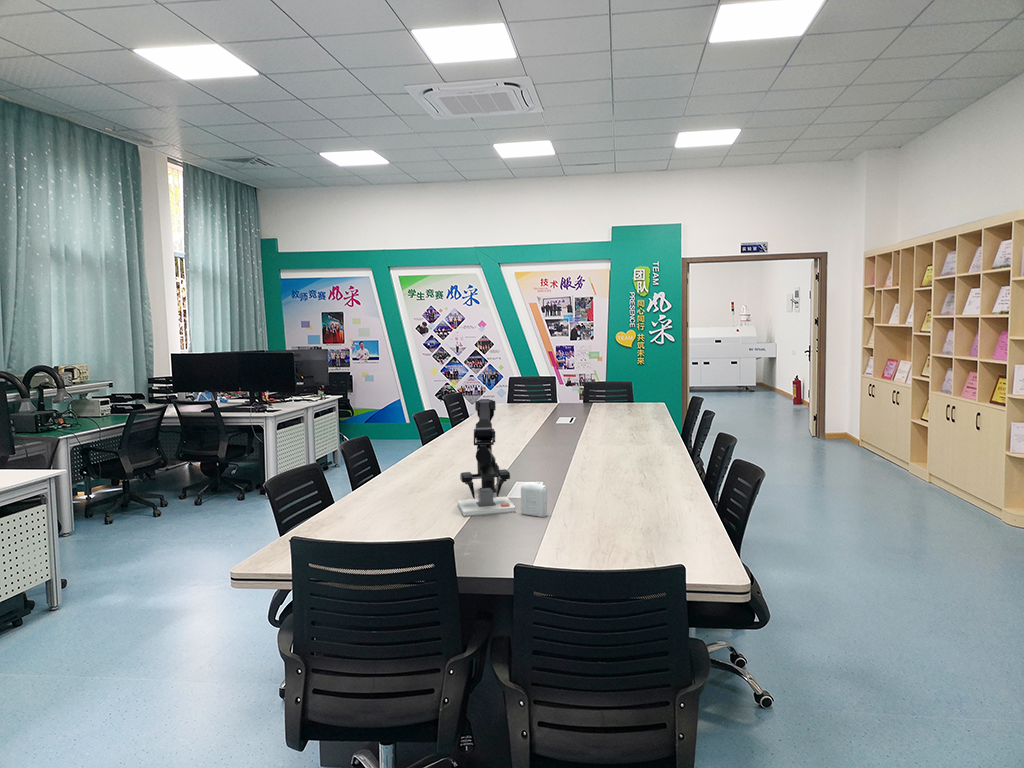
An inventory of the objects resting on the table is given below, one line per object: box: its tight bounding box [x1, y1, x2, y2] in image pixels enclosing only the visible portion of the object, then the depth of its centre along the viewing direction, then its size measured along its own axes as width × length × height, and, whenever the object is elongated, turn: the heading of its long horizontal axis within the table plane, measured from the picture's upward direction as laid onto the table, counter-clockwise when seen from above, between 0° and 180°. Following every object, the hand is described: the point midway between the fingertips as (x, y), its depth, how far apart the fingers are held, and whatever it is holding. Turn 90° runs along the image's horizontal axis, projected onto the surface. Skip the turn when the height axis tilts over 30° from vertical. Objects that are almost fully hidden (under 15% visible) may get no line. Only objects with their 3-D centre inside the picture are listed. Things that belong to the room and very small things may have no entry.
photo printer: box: [520, 481, 548, 518], centre depth 251 cm, size 10×4×12 cm, turn 61°
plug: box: [477, 487, 494, 507], centre depth 260 cm, size 5×5×7 cm
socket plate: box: [457, 496, 517, 518], centre depth 261 cm, size 16×20×3 cm
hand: (485, 497), depth 260 cm, fingers open, 9 cm apart
